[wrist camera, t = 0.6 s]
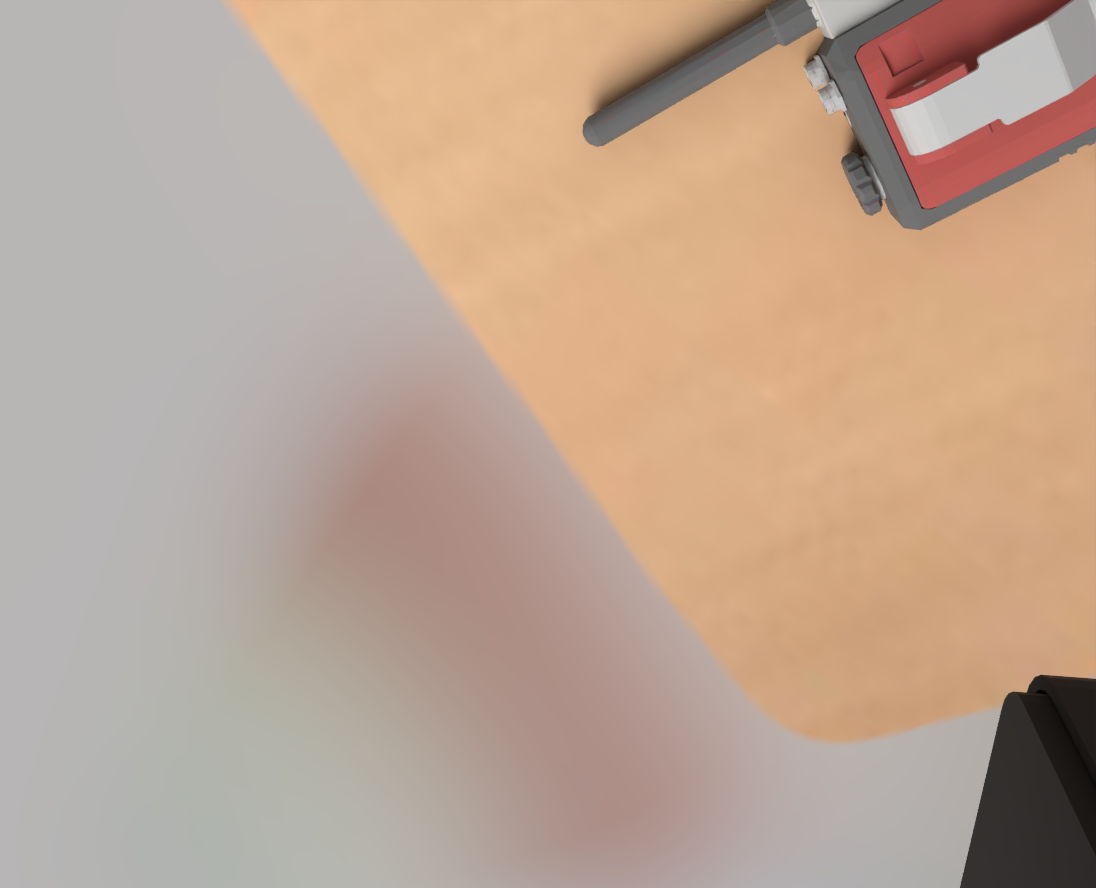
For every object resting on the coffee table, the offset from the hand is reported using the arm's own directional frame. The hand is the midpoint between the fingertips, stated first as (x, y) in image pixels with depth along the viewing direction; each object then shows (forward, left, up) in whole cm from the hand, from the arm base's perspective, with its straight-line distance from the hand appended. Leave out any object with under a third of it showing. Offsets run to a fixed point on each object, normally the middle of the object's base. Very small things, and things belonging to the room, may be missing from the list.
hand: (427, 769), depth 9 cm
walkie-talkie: (-6, +8, -30) cm, 31 cm away
